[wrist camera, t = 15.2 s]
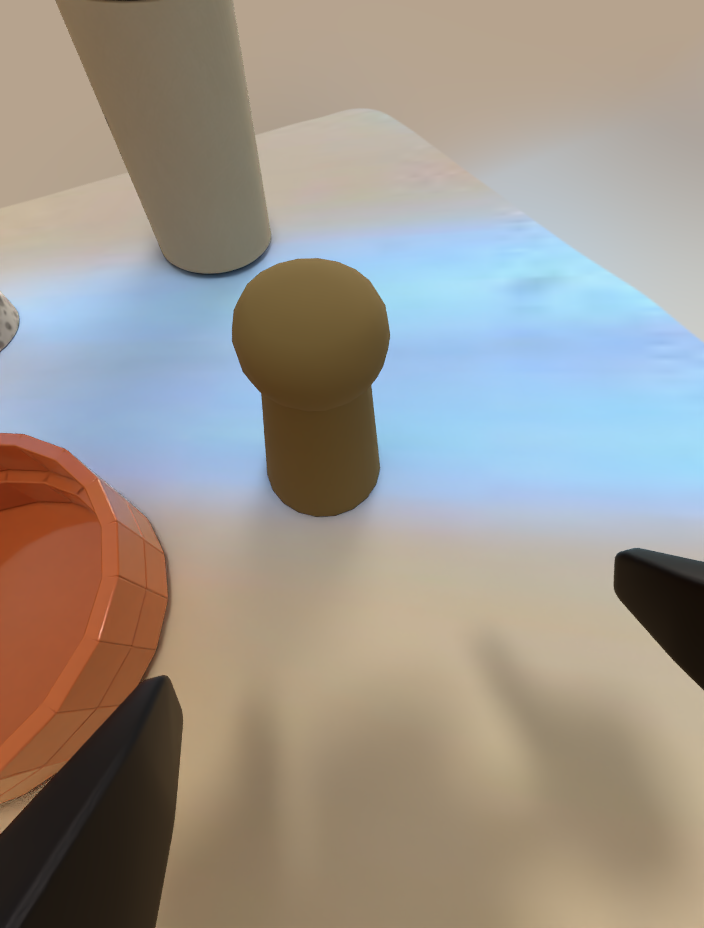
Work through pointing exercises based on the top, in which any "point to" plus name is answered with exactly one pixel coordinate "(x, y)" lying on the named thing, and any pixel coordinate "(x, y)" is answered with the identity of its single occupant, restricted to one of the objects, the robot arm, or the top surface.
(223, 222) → the travel mug
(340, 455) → the cork
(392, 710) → the top surface
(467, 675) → the top surface
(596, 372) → the top surface
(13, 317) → the mug
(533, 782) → the top surface
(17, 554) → the orange brown bowl
